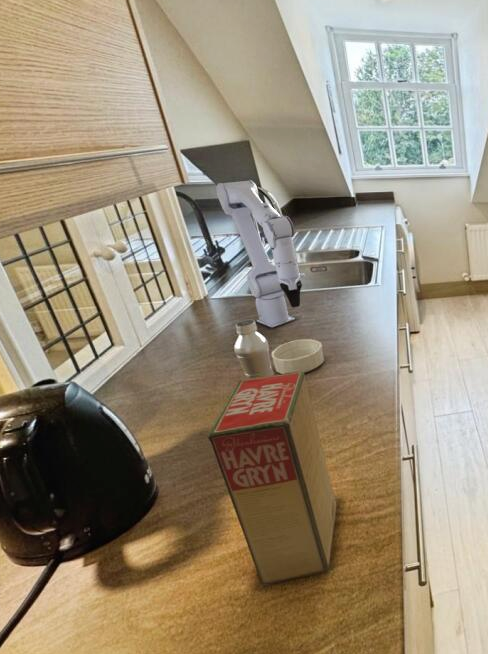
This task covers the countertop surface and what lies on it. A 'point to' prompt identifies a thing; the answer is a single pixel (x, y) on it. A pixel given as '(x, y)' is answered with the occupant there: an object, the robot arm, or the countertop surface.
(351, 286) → the countertop surface
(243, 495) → the food packaging
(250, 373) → the plastic bottle
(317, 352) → the bowl
